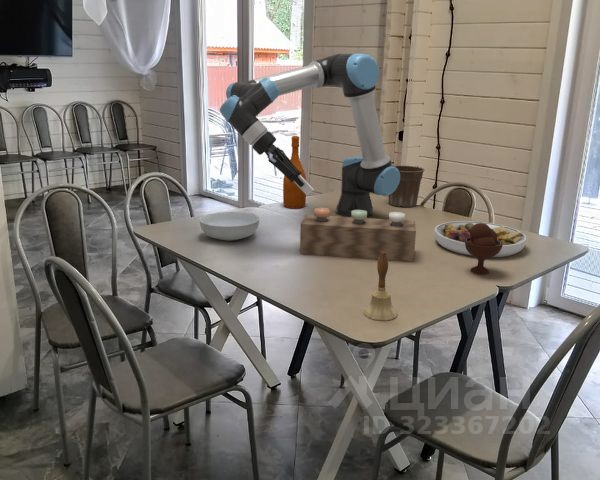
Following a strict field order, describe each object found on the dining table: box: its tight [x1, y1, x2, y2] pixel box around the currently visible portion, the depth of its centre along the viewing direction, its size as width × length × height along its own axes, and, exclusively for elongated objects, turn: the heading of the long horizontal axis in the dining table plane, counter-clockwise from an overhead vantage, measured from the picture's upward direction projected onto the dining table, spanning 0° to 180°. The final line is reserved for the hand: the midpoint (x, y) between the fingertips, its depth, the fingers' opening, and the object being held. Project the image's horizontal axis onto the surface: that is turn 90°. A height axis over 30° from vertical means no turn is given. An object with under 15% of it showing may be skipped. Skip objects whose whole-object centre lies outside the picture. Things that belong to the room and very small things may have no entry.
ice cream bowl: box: [465, 223, 503, 276], centre depth 169 cm, size 11×11×15 cm
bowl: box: [434, 220, 527, 258], centre depth 195 cm, size 30×30×8 cm
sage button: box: [351, 210, 368, 224], centre depth 184 cm, size 5×5×6 cm
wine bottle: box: [282, 135, 307, 209], centre depth 241 cm, size 10×10×30 cm
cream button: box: [388, 211, 406, 227], centre depth 182 cm, size 5×5×6 cm
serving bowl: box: [198, 211, 260, 242], centre depth 200 cm, size 21×21×7 cm
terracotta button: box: [313, 207, 331, 222], centre depth 186 cm, size 5×5×6 cm
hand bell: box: [363, 252, 398, 322], centre depth 139 cm, size 8×8×16 cm
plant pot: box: [388, 165, 425, 208], centre depth 250 cm, size 16×16×16 cm
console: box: [299, 214, 417, 263], centre depth 185 cm, size 36×12×10 cm, turn 80°
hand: (310, 192), depth 183 cm, fingers closed
